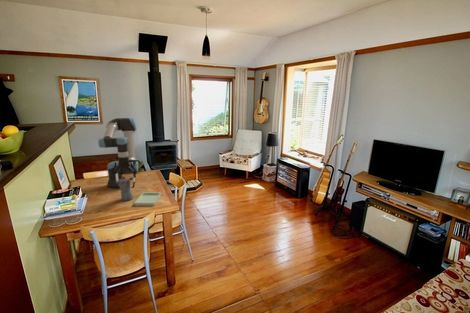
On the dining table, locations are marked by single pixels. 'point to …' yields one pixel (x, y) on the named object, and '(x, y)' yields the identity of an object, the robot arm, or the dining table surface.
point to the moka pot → (125, 188)
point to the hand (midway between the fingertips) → (125, 181)
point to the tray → (147, 199)
